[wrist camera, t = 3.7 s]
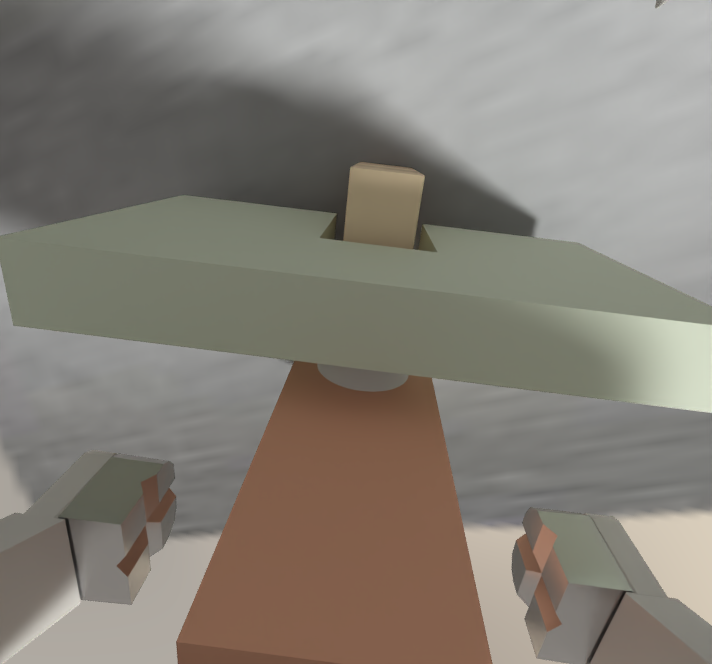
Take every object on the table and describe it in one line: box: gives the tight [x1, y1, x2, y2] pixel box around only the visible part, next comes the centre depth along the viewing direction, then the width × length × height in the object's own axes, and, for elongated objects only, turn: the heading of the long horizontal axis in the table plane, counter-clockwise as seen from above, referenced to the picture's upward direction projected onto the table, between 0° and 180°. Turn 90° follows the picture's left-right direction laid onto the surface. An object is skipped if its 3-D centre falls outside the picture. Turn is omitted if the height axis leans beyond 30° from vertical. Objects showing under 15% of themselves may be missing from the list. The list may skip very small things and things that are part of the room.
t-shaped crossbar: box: [0, 195, 712, 664], centre depth 9 cm, size 6×12×11 cm, turn 84°
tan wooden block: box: [343, 162, 425, 249], centre depth 13 cm, size 8×2×5 cm, turn 174°
